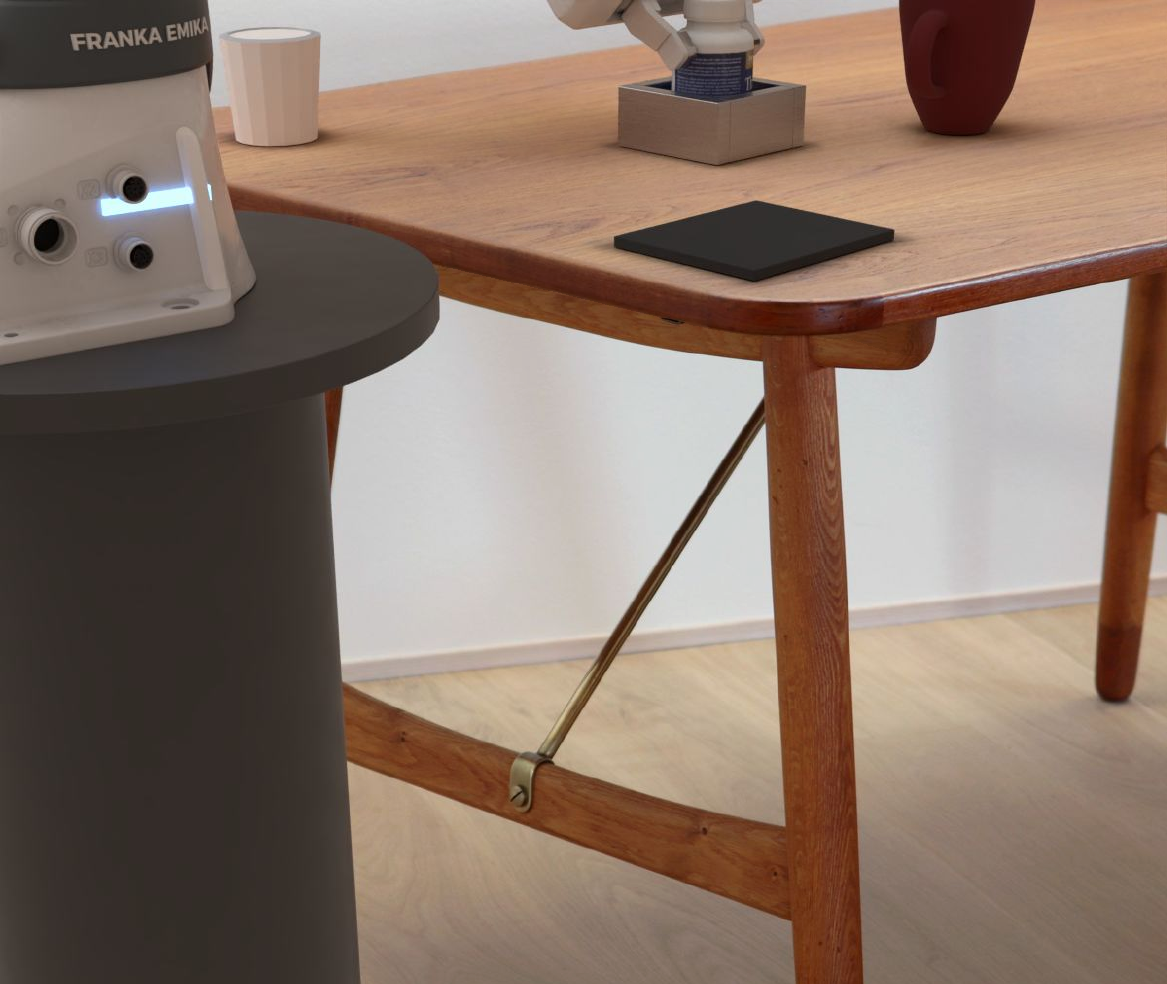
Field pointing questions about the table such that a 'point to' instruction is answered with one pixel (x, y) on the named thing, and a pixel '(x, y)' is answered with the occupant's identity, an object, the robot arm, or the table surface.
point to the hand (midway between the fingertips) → (720, 57)
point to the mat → (754, 239)
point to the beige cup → (273, 84)
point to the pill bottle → (716, 50)
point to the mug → (962, 59)
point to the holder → (711, 120)
